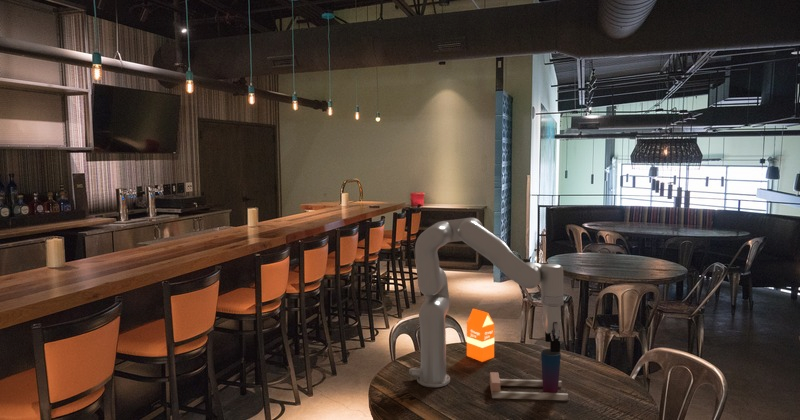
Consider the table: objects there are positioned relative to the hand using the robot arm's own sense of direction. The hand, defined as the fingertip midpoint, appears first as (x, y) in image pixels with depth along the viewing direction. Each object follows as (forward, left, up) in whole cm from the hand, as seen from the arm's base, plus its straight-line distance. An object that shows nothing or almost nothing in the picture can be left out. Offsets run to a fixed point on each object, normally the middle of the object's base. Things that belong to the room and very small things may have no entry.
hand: (552, 346), depth 182 cm
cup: (-1, 0, -17) cm, 17 cm away
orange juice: (-24, +32, -17) cm, 43 cm away
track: (-9, 0, -17) cm, 19 cm away
